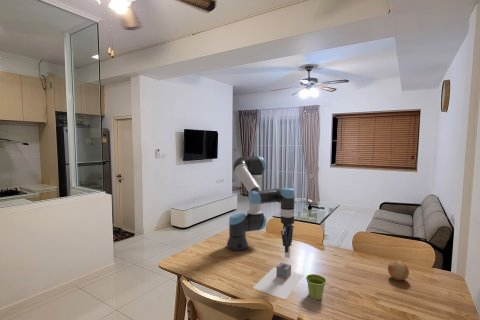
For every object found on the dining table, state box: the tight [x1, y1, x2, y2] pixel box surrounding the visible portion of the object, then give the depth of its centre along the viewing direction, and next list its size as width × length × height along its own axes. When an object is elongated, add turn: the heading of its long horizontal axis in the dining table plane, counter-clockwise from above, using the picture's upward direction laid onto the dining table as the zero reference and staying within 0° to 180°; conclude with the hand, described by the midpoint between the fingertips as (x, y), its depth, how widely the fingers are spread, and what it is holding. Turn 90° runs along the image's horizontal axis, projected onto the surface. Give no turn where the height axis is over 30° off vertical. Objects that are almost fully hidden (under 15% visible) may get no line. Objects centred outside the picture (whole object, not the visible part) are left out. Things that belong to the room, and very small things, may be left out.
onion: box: [387, 259, 410, 281], centre depth 137 cm, size 10×10×10 cm
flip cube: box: [276, 262, 292, 280], centre depth 139 cm, size 6×6×6 cm
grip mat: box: [252, 266, 304, 300], centre depth 134 cm, size 18×26×1 cm
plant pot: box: [305, 273, 327, 301], centre depth 121 cm, size 9×9×9 cm
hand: (287, 257), depth 142 cm, fingers closed
